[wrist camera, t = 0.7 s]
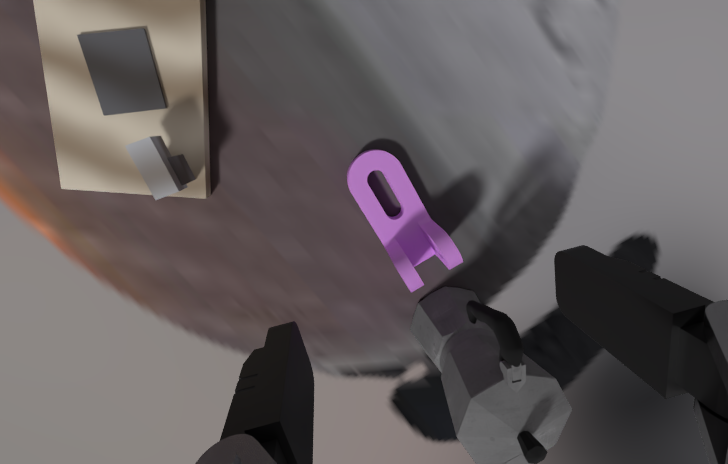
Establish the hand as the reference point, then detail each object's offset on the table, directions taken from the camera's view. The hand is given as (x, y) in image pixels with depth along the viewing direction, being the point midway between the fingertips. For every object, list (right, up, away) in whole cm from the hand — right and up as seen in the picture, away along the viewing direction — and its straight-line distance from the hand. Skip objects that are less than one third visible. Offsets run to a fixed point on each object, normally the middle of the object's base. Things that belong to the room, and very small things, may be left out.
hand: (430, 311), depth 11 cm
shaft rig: (-22, +16, +20) cm, 33 cm away
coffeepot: (+8, -7, +31) cm, 32 cm away
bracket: (+1, +5, +26) cm, 27 cm away
